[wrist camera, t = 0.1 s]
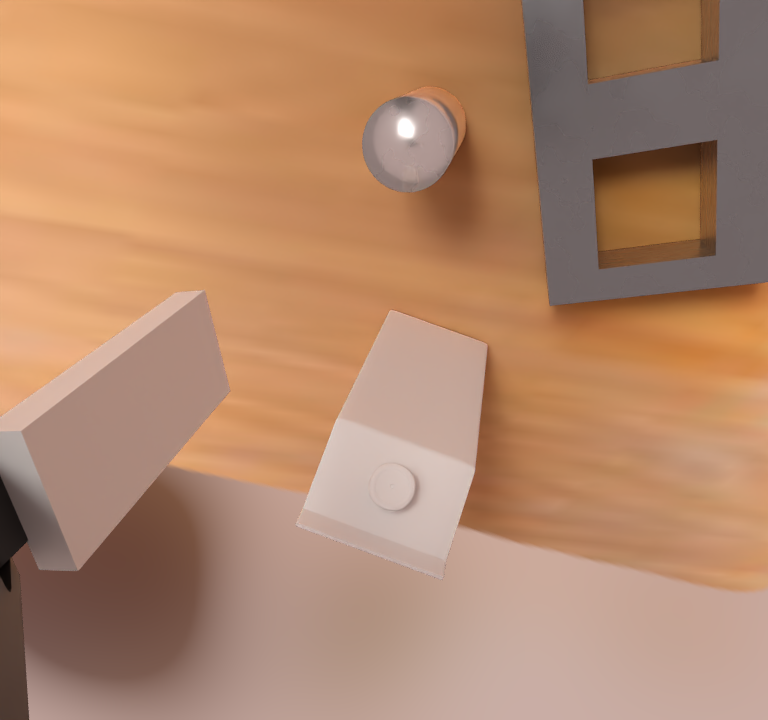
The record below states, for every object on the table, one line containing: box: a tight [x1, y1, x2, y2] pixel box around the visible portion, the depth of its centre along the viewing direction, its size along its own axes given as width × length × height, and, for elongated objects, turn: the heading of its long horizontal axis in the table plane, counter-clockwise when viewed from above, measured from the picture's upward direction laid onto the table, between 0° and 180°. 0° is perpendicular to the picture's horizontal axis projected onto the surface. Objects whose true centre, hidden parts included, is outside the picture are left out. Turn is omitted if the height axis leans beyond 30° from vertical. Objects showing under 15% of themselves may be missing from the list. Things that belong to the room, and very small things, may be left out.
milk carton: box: [296, 310, 488, 580], centre depth 38 cm, size 7×7×19 cm
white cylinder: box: [362, 86, 466, 192], centre depth 36 cm, size 4×4×9 cm
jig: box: [521, 0, 768, 306], centre depth 35 cm, size 20×12×4 cm, turn 10°
